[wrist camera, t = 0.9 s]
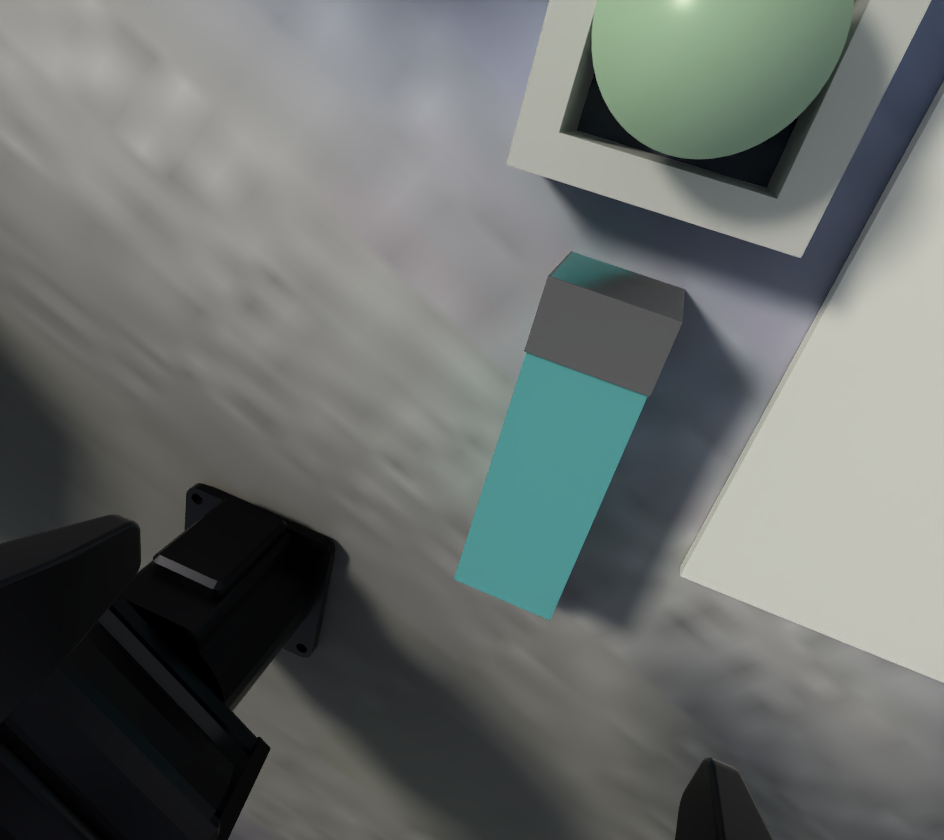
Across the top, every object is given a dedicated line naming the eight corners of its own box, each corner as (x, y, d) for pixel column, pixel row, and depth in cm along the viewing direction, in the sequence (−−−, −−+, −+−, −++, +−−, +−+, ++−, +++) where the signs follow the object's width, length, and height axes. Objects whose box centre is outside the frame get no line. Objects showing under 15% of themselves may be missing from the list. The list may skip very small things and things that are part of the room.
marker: (561, 578, 23) (542, 643, 20) (475, 542, 24) (444, 601, 21) (685, 289, 18) (683, 322, 15) (571, 251, 18) (548, 276, 15)
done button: (765, 175, 15) (778, 188, 12) (583, 121, 16) (561, 122, 13) (867, -52, 13) (909, -93, 10) (652, -103, 14) (642, -155, 11)
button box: (787, 239, 17) (800, 258, 14) (529, 158, 18) (506, 164, 15) (952, -98, 13) (1001, -139, 11) (621, -172, 14) (607, -224, 12)
